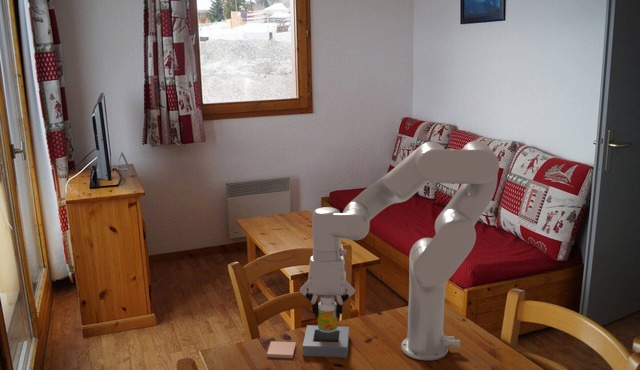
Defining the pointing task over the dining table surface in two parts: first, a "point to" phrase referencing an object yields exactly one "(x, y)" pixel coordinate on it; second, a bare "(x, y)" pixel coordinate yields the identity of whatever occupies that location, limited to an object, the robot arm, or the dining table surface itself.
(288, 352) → the mat
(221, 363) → the dining table surface
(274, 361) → the dining table surface
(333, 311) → the supplement bottle
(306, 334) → the frame
